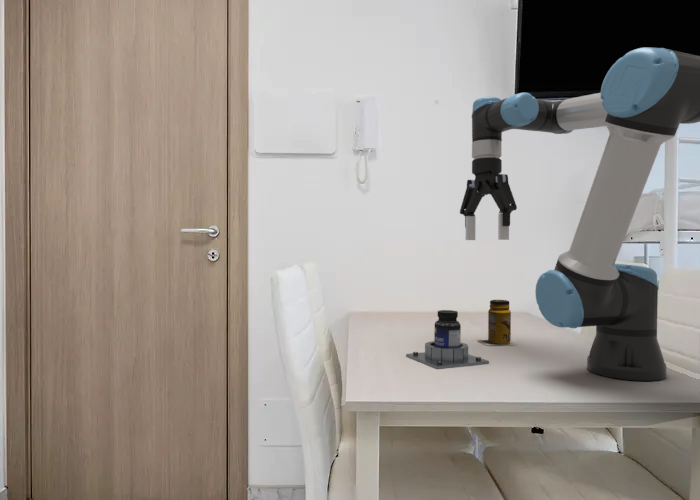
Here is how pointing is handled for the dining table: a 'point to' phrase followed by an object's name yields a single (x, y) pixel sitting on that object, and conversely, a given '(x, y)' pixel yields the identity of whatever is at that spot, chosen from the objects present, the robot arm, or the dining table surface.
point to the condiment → (498, 324)
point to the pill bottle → (447, 330)
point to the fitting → (446, 356)
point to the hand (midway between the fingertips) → (486, 240)
